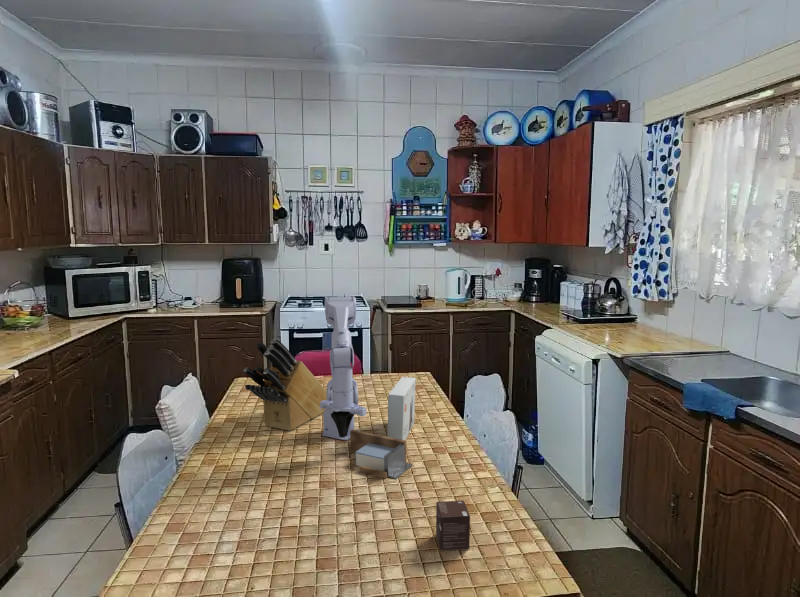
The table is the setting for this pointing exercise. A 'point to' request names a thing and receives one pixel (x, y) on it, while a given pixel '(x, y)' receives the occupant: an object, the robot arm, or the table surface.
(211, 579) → the table surface
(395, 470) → the bookend
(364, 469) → the shelf
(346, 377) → the robot arm
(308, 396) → the knife block
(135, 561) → the table surface
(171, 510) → the table surface
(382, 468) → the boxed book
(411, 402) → the skincare box
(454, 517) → the box
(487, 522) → the table surface
